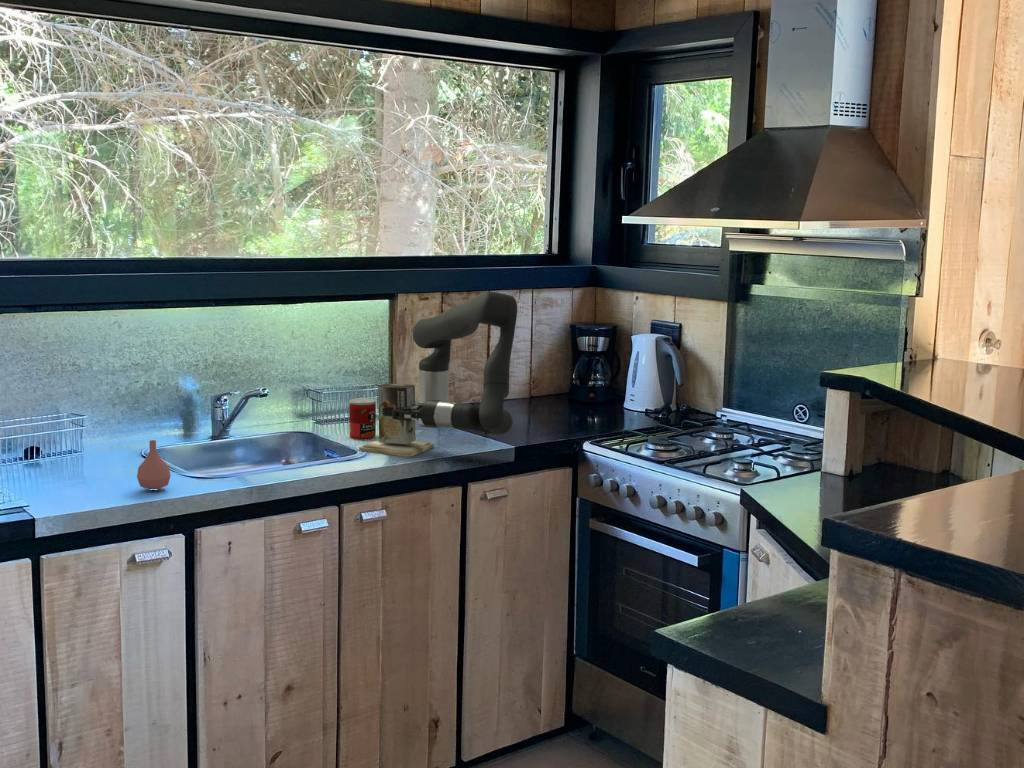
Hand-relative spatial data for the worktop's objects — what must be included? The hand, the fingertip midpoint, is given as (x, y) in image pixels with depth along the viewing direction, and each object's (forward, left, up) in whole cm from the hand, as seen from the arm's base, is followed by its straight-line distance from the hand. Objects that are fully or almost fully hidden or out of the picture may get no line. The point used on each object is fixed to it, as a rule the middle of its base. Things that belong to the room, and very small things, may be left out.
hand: (390, 409), depth 314 cm
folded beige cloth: (0, +2, -11) cm, 11 cm away
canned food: (-9, -15, -11) cm, 21 cm away
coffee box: (0, +2, -9) cm, 10 cm away
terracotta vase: (+66, -26, -11) cm, 72 cm away
